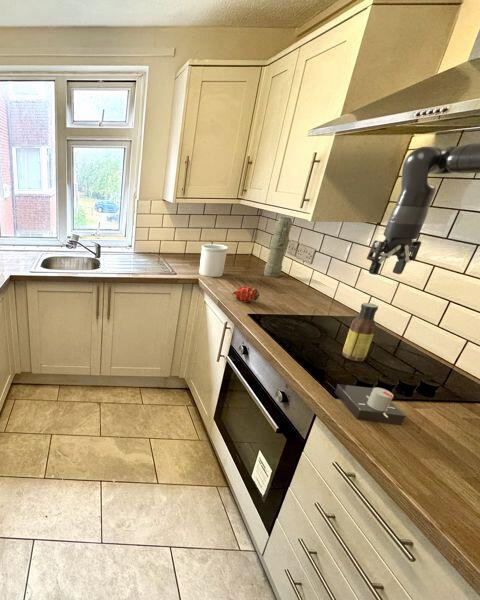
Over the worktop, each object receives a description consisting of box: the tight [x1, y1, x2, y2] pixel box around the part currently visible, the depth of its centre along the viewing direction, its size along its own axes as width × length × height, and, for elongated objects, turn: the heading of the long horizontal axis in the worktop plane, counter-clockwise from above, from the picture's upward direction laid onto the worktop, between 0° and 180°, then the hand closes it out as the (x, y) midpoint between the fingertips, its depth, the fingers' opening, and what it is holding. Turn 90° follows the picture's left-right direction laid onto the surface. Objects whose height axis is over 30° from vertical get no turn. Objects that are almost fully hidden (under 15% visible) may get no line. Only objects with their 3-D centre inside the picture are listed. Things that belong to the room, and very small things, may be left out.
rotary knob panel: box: [334, 383, 406, 426], centre depth 85 cm, size 10×13×3 cm
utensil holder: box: [198, 243, 229, 278], centre depth 195 cm, size 15×15×18 cm
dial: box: [367, 386, 394, 412], centre depth 82 cm, size 4×4×5 cm
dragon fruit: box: [232, 285, 260, 304], centre depth 155 cm, size 8×8×12 cm
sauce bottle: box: [342, 302, 379, 363], centre depth 106 cm, size 6×6×20 cm
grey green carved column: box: [263, 216, 293, 279], centre depth 189 cm, size 9×12×35 cm
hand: (384, 273), depth 99 cm, fingers open, 8 cm apart
